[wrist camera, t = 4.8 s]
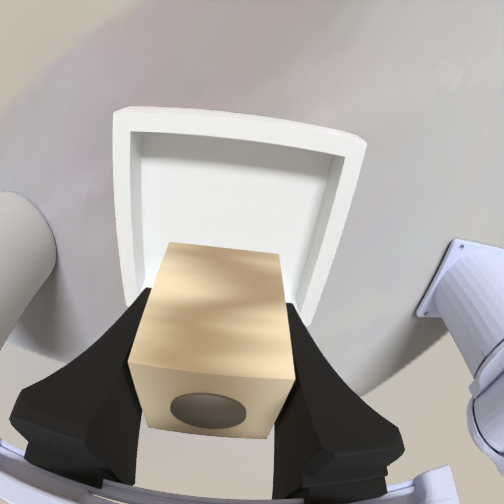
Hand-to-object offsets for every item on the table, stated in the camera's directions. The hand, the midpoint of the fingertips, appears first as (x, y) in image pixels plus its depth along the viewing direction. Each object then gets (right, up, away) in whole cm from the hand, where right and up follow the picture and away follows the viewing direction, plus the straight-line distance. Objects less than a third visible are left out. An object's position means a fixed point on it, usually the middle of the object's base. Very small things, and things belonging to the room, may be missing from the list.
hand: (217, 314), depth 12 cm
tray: (0, +5, +7) cm, 9 cm away
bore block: (0, +1, +2) cm, 2 cm away
